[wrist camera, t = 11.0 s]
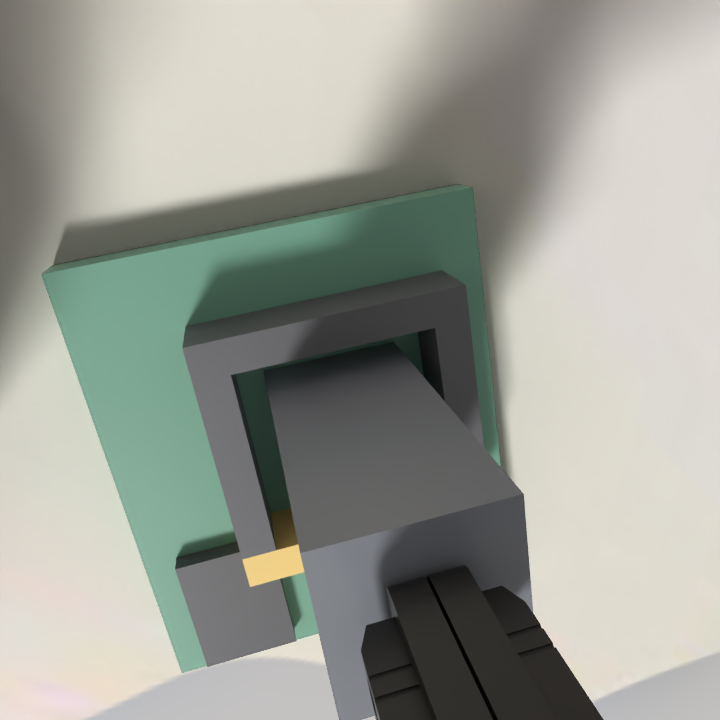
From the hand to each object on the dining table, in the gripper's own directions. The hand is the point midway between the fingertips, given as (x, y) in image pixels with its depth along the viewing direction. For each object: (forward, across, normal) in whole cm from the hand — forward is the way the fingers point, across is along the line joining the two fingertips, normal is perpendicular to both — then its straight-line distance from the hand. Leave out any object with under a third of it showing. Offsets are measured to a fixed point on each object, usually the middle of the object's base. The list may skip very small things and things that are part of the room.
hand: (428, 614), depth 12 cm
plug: (+9, 0, 0) cm, 9 cm away
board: (+10, +1, +1) cm, 10 cm away
